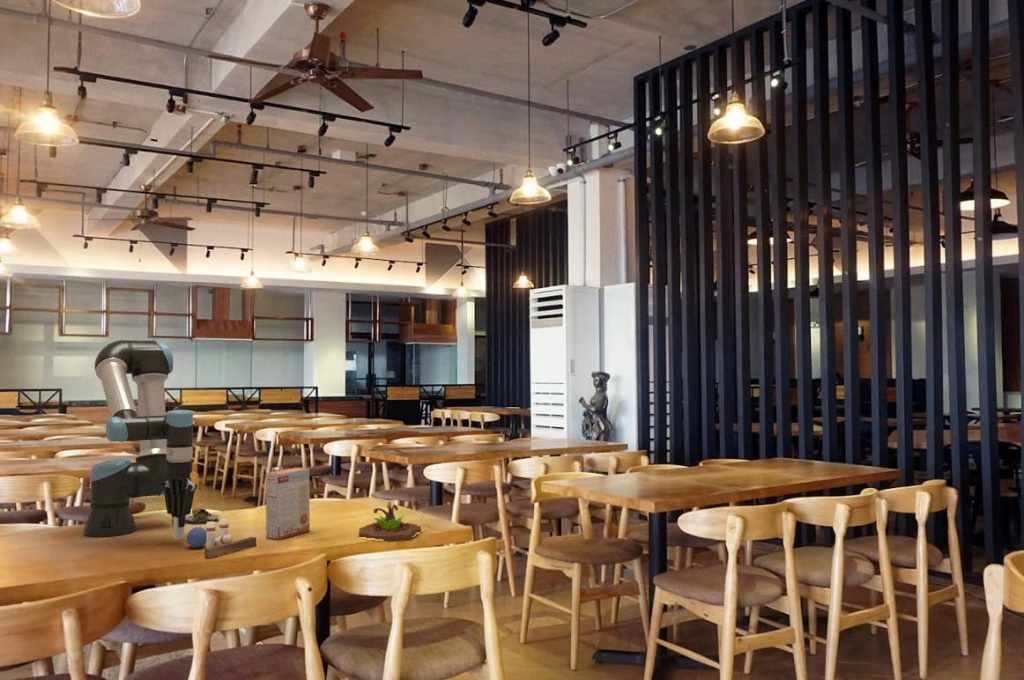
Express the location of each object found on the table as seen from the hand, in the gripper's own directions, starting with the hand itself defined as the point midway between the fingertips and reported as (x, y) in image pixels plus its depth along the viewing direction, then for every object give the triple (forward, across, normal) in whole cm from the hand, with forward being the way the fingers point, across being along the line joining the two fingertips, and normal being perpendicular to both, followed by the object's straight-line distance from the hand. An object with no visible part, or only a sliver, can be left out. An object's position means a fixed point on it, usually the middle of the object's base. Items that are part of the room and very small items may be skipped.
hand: (178, 537), depth 246 cm
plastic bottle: (+2, +8, +34) cm, 35 cm away
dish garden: (+3, -22, +29) cm, 36 cm away
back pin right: (+2, +16, -2) cm, 17 cm away
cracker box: (+2, +21, +25) cm, 33 cm away
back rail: (+2, +22, 0) cm, 22 cm away
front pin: (+1, +13, 0) cm, 13 cm away
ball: (-1, +9, -1) cm, 9 cm away
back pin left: (+2, +16, +2) cm, 17 cm away
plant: (+3, +50, +40) cm, 64 cm away
